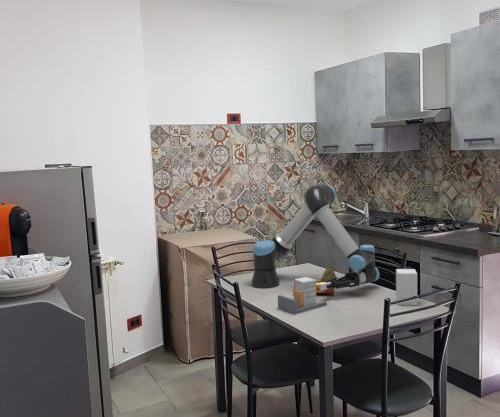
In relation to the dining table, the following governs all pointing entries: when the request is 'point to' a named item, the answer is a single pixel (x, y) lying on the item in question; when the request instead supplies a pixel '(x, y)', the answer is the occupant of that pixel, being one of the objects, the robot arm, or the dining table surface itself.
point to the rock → (328, 274)
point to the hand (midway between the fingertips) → (320, 287)
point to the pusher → (299, 298)
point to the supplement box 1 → (307, 290)
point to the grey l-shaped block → (295, 305)
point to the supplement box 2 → (406, 285)
